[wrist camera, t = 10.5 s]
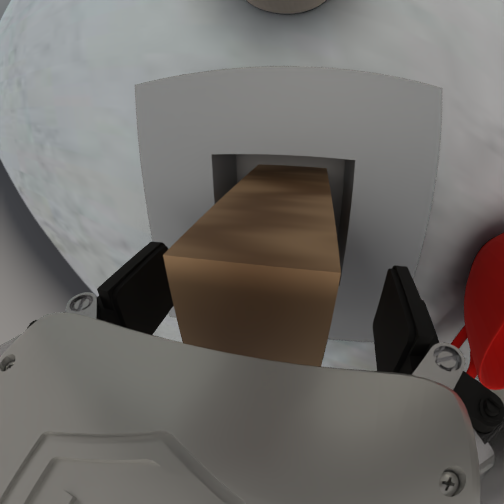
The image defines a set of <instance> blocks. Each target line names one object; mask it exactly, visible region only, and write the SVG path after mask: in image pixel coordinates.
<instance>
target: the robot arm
mask: <svg viewBox="0 0 504 504" xmlns="http://www.w3.org/2000/svg"><path fill="white" fill-rule="evenodd" d="M167 250H168V247H167V246H165V244H164V243H162V242H150V243H149V244H148V245H147V246H145V247H144V248H143V249H142V250H141V251H139V252H138V253H137V254H136V255H135V256H134V257H132V258H131V259H130V260H129V261H128V262H127V263H125V264H124V265H123V266H122V267H121V268H120V269H119V270H118V271H116V272H115V273H114V274H113V275H112V276H111V277H110V278H109V279H107V280H106V281H105V282H104V283H103V284H102V285H101V286H100V287H99V288H98V289H97V290H98V293H99V296H98V297H96V296H95V294H93V293H87V292H86V293H81V294H78V295H76V296H74V297H73V298H72V299H70V300H69V302H68V303H67V306H66V311H65V312H63V313H52V314H48V315H45V316H43V317H41V318H40V319H38V320H35V321H33V322H32V323H30V325H29V326H28V328H27V329H26V330H25V332H23V333H22V334H21V335H19V336H17V337H15V338H13V339H11V340H10V341H8V342H6V343H4V344H2V345H1V346H0V504H503V503H504V389H500V390H492V389H488V388H487V387H485V386H484V385H482V384H481V383H480V382H478V381H477V380H475V379H474V378H473V377H471V376H470V375H468V374H467V373H466V372H464V371H463V370H464V367H465V358H464V356H463V354H462V352H461V351H460V350H459V349H458V348H457V347H455V346H454V345H451V344H449V343H439V340H438V337H437V335H436V332H435V329H434V326H433V323H432V321H431V318H430V315H429V313H428V310H427V307H426V305H425V303H424V301H423V300H421V298H420V295H419V293H418V290H417V288H416V286H415V283H414V281H413V279H412V276H411V274H410V272H409V269H408V267H406V266H396V265H394V266H393V267H392V269H390V268H389V269H388V271H387V275H386V279H385V282H384V286H383V290H382V293H381V297H380V301H379V304H378V307H377V311H376V314H375V317H374V321H373V336H374V344H375V353H376V363H377V371H366V370H354V369H341V368H329V367H319V366H310V365H302V364H294V363H287V362H280V361H273V360H267V359H260V358H254V357H249V356H243V355H237V354H232V353H227V352H222V351H217V350H212V349H207V348H203V347H198V346H194V345H189V344H185V343H181V342H177V341H173V340H169V339H165V338H161V337H157V336H153V335H152V334H153V333H154V332H155V330H156V329H157V328H158V326H159V325H160V323H161V322H162V321H163V319H164V318H165V317H166V315H167V314H168V313H169V311H170V310H171V308H172V307H173V306H174V305H173V300H172V296H171V291H170V287H169V282H168V277H167V273H166V268H165V262H164V257H163V255H164V253H165V252H166V251H167Z"/></svg>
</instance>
